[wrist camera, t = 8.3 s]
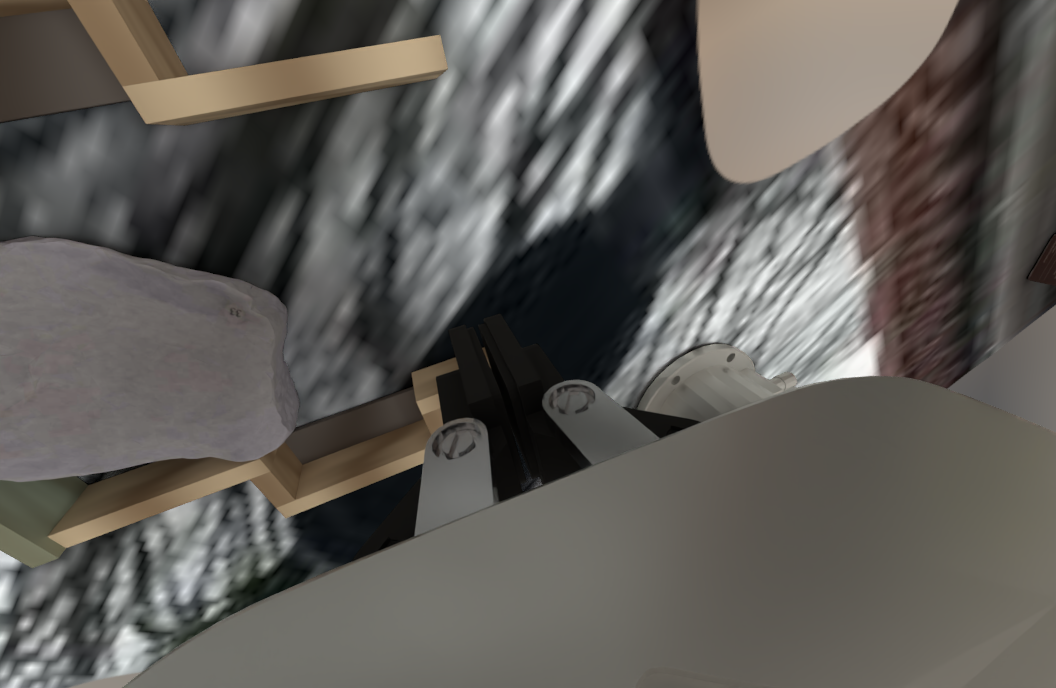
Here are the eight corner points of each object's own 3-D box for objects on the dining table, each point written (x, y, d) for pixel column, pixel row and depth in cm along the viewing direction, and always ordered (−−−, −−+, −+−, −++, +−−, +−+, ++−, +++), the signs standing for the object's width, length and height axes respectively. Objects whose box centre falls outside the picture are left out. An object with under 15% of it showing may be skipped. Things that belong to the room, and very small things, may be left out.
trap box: (399, -67, 14) (407, -119, 11) (516, 393, 26) (533, 424, 24) (-580, 33, 9) (-1019, -13, 6) (131, 540, 21) (94, 602, 19)
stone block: (-51, 219, 15) (3, 444, 17) (-211, 216, 11) (-109, 515, 13) (299, 254, 20) (302, 424, 22) (285, 262, 16) (291, 469, 18)
